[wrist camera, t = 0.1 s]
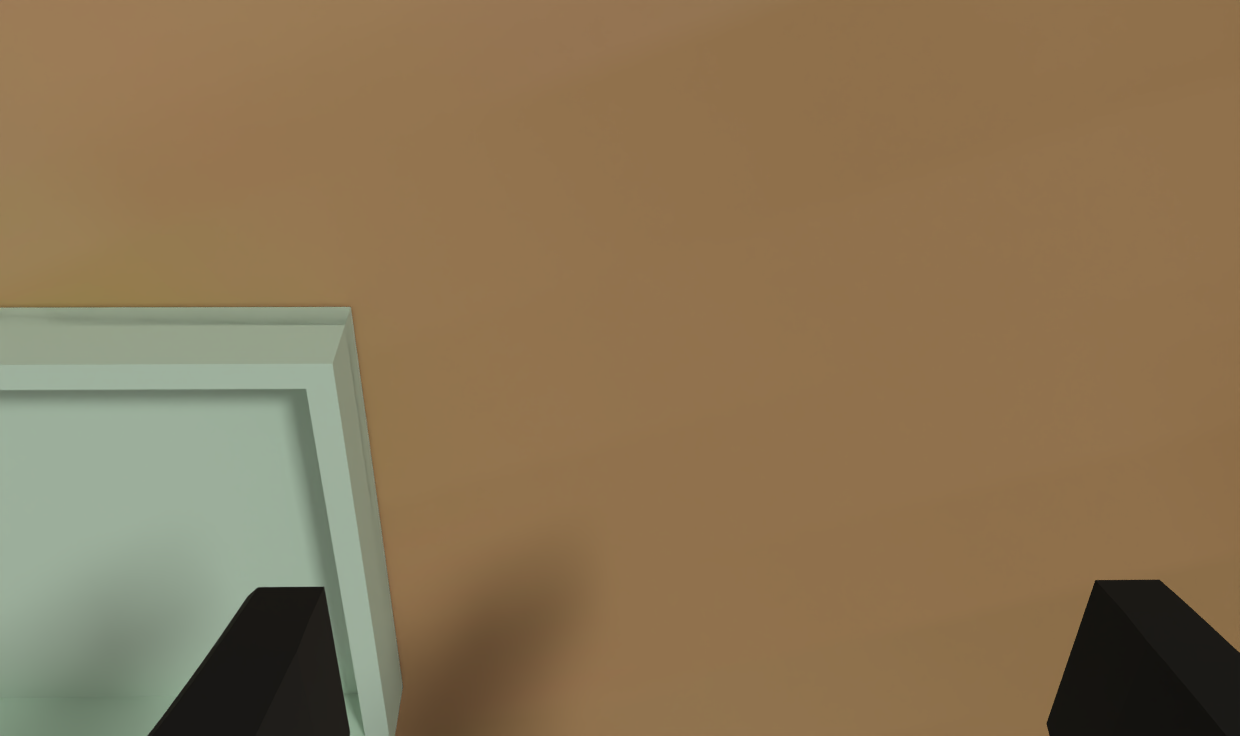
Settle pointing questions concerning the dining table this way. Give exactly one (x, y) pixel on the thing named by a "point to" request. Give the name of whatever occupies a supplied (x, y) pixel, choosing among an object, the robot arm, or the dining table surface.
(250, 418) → the tray
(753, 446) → the dining table surface
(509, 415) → the dining table surface
